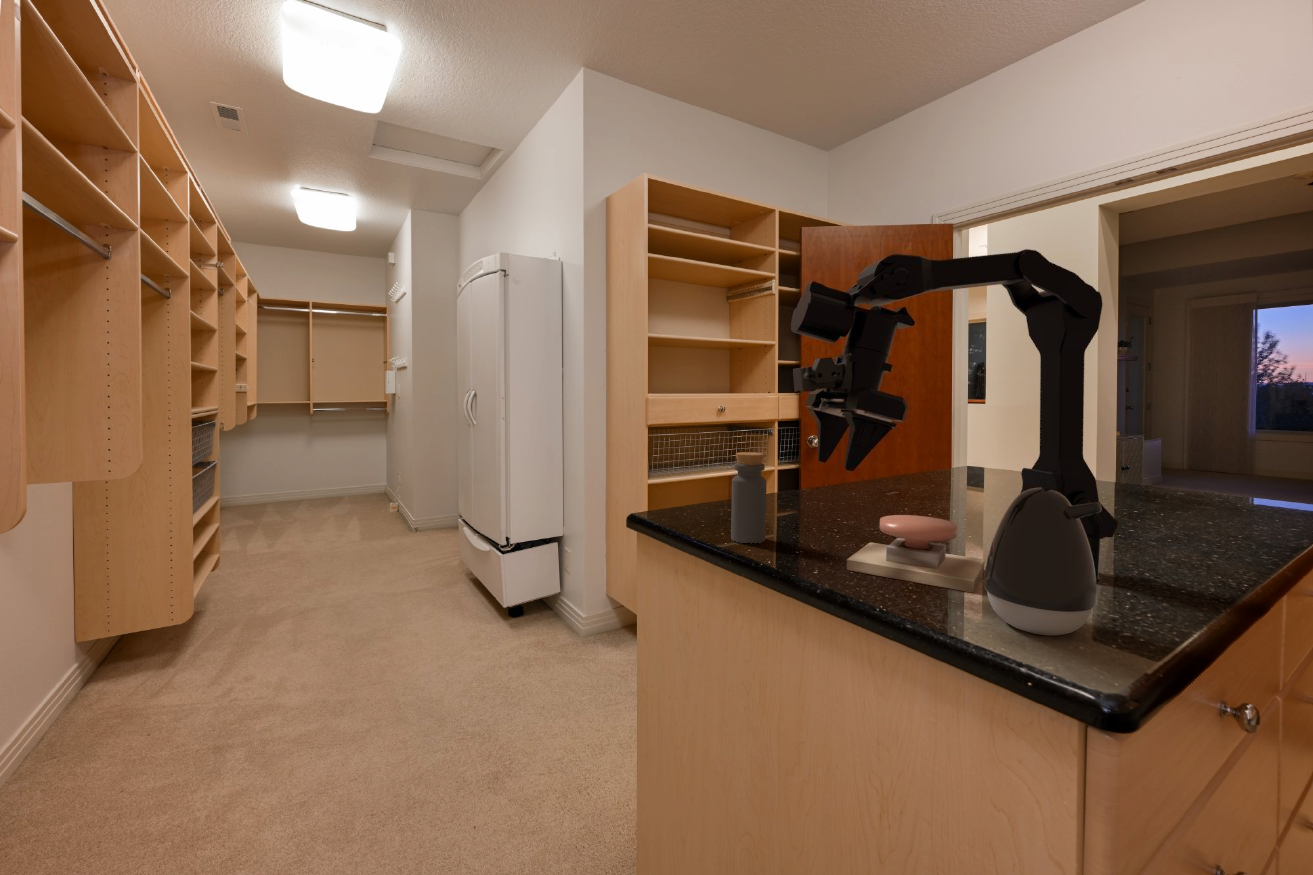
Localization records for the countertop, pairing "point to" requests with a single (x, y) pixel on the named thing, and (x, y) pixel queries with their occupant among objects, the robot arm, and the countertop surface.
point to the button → (918, 529)
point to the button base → (918, 565)
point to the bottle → (748, 499)
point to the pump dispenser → (1042, 564)
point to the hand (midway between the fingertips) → (834, 465)
